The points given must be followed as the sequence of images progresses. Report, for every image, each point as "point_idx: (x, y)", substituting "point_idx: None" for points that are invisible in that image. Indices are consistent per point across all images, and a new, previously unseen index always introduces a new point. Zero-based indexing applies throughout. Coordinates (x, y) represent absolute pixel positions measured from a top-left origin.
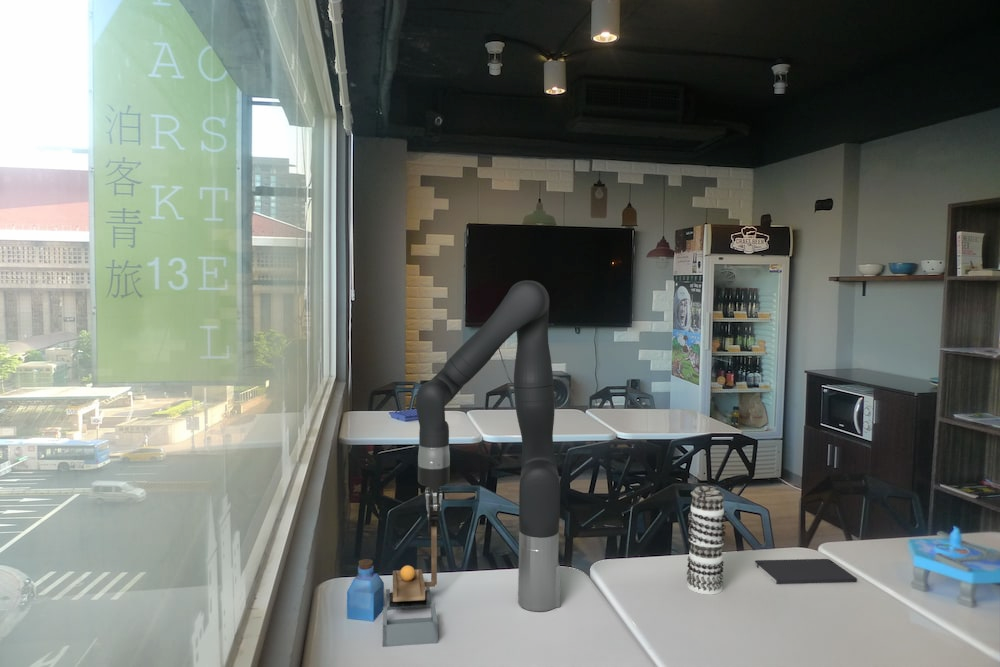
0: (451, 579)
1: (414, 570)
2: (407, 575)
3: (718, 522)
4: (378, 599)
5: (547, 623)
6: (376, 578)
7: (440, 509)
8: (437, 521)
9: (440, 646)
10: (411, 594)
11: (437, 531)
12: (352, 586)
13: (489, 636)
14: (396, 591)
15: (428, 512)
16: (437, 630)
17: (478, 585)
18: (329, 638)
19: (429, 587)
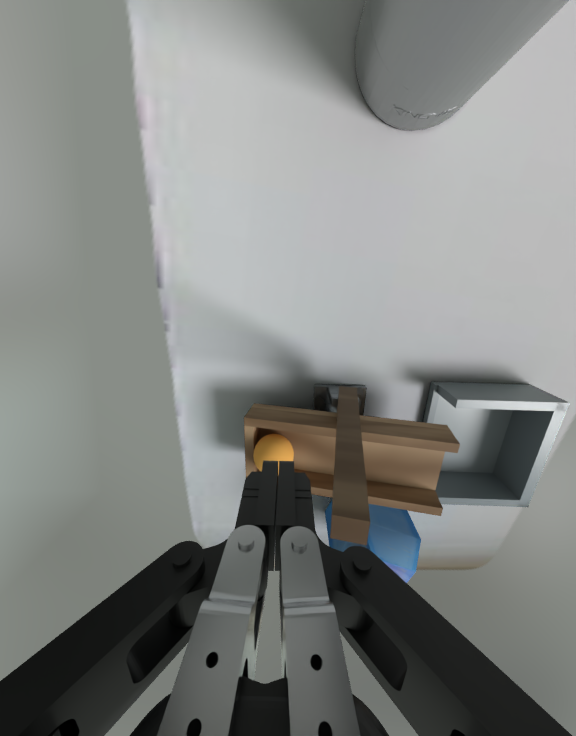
0: (213, 319)
1: (275, 443)
2: (293, 457)
3: None
4: (384, 508)
5: (566, 51)
6: (385, 553)
7: (336, 619)
8: (296, 521)
9: (546, 379)
10: (418, 456)
11: (294, 472)
12: None
13: (556, 263)
14: (439, 502)
15: (260, 624)
16: (554, 396)
17: (260, 245)
18: (434, 547)
19: (335, 398)
